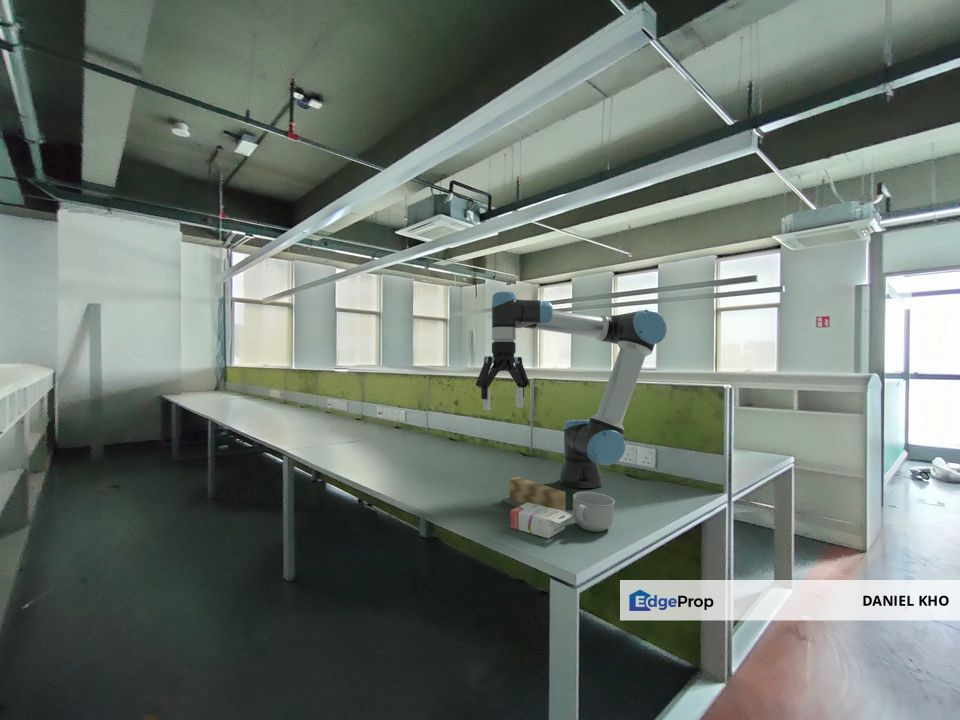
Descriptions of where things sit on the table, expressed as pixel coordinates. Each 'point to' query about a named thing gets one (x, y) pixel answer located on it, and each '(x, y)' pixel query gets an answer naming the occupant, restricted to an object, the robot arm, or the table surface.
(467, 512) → the table surface
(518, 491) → the oak stick
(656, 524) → the table surface
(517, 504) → the tool mat
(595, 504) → the teacup
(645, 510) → the table surface
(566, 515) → the ink cartridge box
